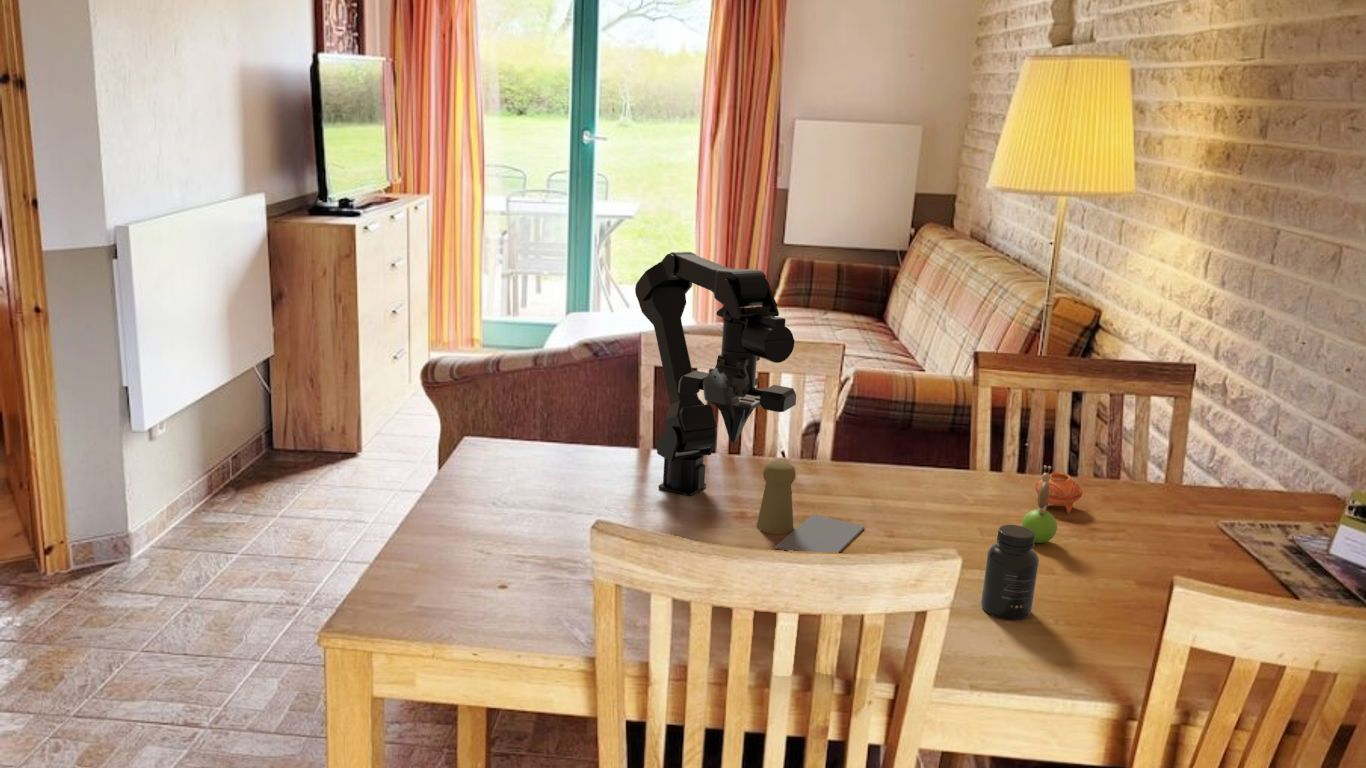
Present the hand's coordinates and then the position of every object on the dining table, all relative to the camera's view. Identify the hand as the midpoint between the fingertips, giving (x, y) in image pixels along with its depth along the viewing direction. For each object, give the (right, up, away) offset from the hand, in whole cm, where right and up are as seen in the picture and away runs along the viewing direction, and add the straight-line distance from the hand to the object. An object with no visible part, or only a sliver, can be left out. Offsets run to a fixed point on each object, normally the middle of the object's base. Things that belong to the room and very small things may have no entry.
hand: (733, 441), depth 175 cm
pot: (+58, -13, +15) cm, 61 cm away
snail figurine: (+50, -16, 0) cm, 52 cm away
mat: (+14, -15, -4) cm, 21 cm away
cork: (+7, -14, 0) cm, 16 cm away
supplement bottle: (+37, -22, -25) cm, 50 cm away
